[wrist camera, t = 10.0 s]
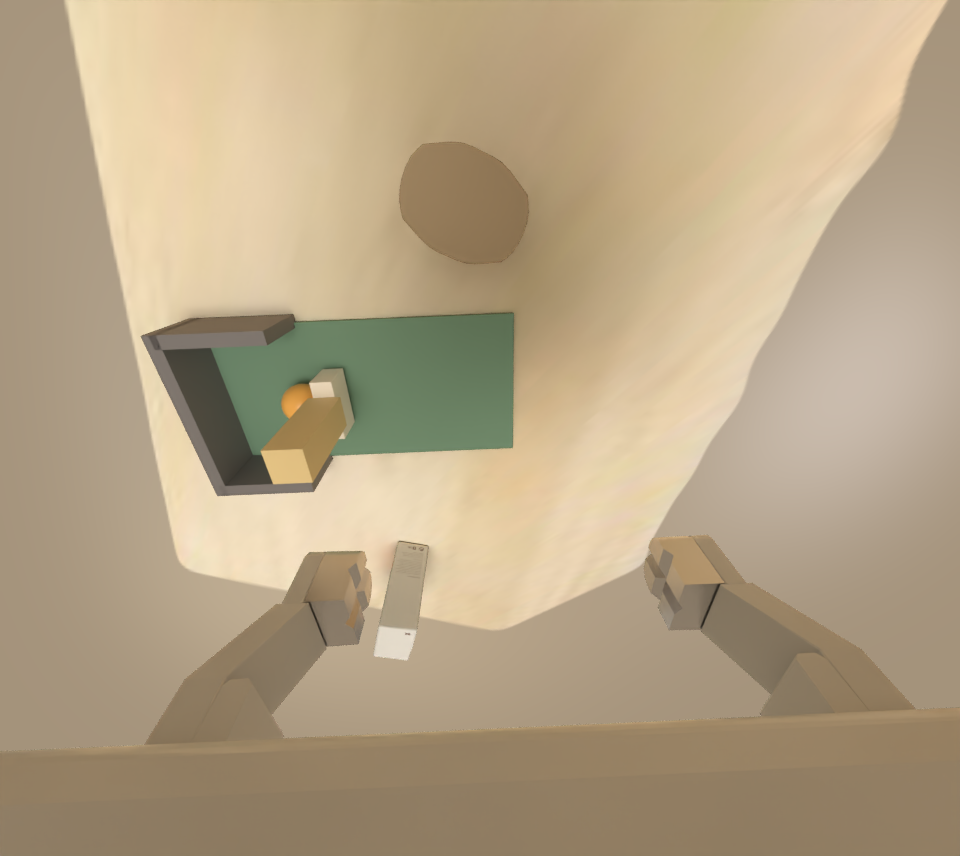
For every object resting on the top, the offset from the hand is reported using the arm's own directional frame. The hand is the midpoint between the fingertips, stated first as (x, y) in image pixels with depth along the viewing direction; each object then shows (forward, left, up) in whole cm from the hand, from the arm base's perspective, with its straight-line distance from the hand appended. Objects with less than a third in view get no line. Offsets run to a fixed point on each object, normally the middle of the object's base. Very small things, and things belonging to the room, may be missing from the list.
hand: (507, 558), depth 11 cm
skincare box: (+32, -11, -29) cm, 45 cm away
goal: (+7, -22, -29) cm, 37 cm away
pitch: (+7, -12, -29) cm, 32 cm away
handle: (-9, -1, -29) cm, 31 cm away
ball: (+7, -18, -27) cm, 33 cm away
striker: (+7, -15, -29) cm, 33 cm away
